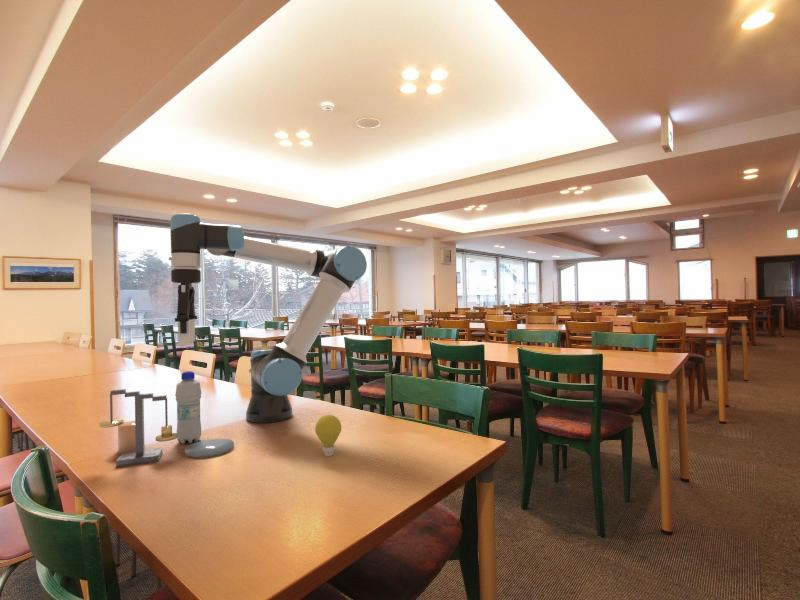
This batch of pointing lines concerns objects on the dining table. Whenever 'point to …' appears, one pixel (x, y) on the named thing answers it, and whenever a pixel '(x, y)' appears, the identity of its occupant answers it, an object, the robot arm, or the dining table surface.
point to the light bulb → (328, 432)
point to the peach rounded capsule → (126, 437)
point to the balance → (140, 430)
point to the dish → (209, 448)
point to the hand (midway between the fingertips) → (187, 343)
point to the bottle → (188, 408)
